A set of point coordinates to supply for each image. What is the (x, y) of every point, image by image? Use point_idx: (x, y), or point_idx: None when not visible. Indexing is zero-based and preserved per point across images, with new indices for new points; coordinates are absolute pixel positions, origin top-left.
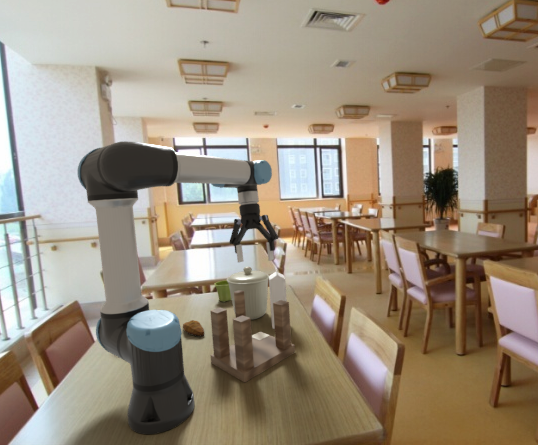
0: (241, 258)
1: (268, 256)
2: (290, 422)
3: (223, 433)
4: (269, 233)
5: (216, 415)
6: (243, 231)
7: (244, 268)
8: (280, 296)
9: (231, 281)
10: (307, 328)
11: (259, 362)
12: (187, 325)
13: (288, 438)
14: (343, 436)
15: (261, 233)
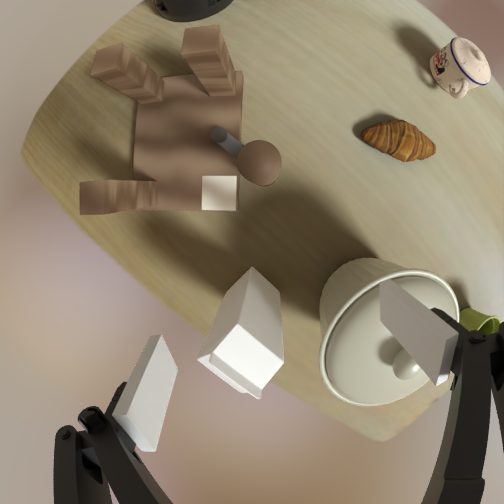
0: (389, 315)
1: (152, 349)
2: (66, 92)
3: (110, 33)
4: (75, 468)
5: (134, 34)
6: (439, 479)
7: None
8: (222, 316)
9: (421, 278)
10: (189, 310)
11: (141, 117)
12: (404, 122)
13: (61, 80)
14: (32, 122)
15: (148, 489)
